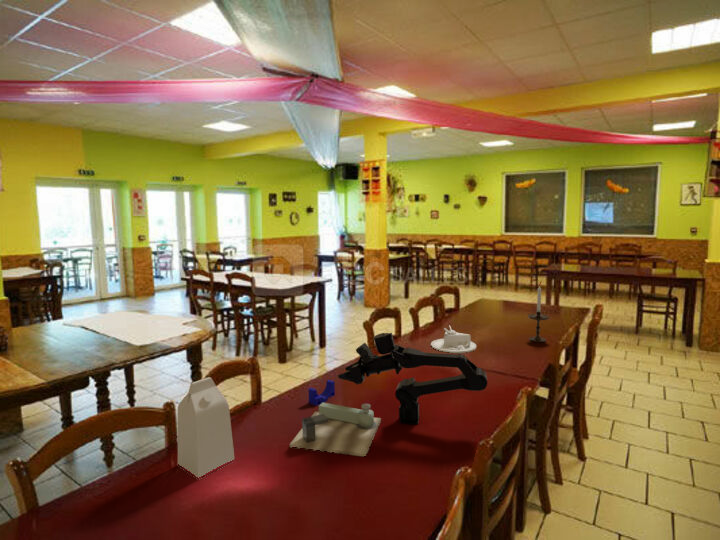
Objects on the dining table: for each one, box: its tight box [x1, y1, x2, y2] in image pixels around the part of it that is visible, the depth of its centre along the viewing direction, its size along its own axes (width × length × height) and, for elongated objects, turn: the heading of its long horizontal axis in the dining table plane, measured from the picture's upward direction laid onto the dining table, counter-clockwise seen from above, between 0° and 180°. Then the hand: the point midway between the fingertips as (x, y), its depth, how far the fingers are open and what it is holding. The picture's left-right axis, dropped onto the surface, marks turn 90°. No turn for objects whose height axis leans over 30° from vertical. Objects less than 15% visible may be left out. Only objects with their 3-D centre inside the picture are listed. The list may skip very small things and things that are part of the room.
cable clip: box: [307, 379, 336, 407], centre depth 175 cm, size 12×4×6 cm, turn 141°
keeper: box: [301, 414, 328, 443], centre depth 143 cm, size 8×4×6 cm, turn 116°
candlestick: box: [528, 281, 550, 343], centre depth 250 cm, size 11×11×35 cm
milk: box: [177, 376, 236, 478], centre depth 130 cm, size 12×12×26 cm
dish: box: [430, 324, 477, 354], centre depth 243 cm, size 25×25×11 cm
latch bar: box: [318, 402, 375, 427], centre depth 154 cm, size 21×5×6 cm, turn 66°
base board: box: [289, 411, 382, 457], centre depth 148 cm, size 25×24×1 cm
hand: (341, 372), depth 161 cm, fingers open, 9 cm apart
